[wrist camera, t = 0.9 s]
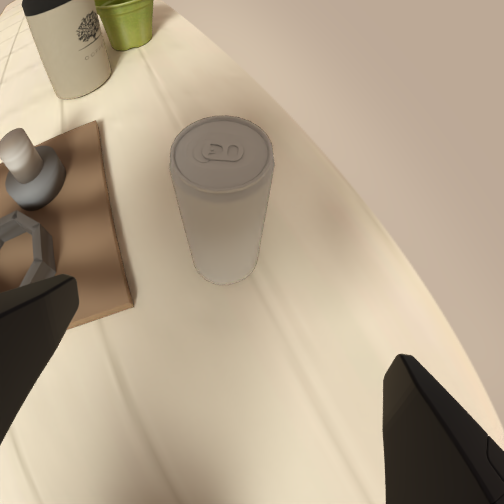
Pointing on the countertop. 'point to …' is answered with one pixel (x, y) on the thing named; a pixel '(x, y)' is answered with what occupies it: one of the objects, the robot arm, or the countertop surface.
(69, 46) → the travel mug
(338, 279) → the countertop surface
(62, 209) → the pin board
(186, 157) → the beverage can
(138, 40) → the plant pot
